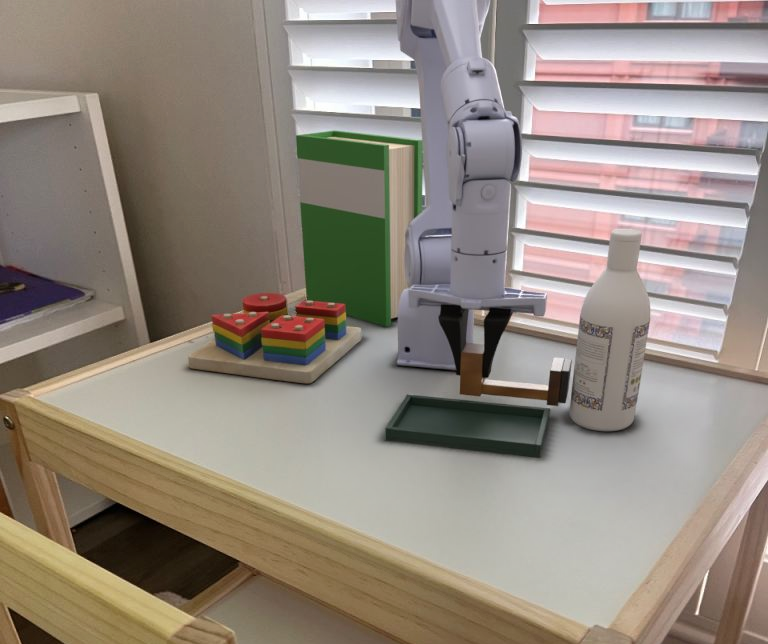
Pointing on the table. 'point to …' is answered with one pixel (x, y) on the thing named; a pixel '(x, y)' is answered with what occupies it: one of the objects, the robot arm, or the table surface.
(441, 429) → the brush tray
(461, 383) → the brown barbell-shaped piece
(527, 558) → the table surface
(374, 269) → the hardback book
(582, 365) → the bath foam
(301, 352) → the shape sorter
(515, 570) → the table surface
